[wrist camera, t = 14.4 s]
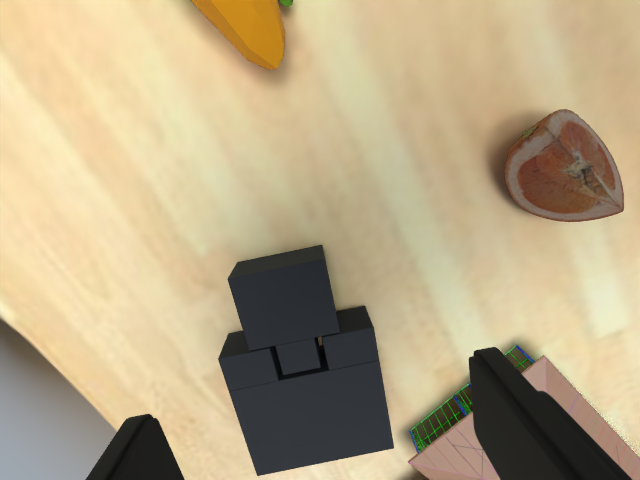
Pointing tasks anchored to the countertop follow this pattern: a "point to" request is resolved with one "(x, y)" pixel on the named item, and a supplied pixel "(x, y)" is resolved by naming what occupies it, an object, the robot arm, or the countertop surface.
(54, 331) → the countertop surface
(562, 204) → the fruit slice
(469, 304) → the countertop surface
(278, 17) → the corn
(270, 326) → the tab pad
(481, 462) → the house
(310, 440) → the notch pad
